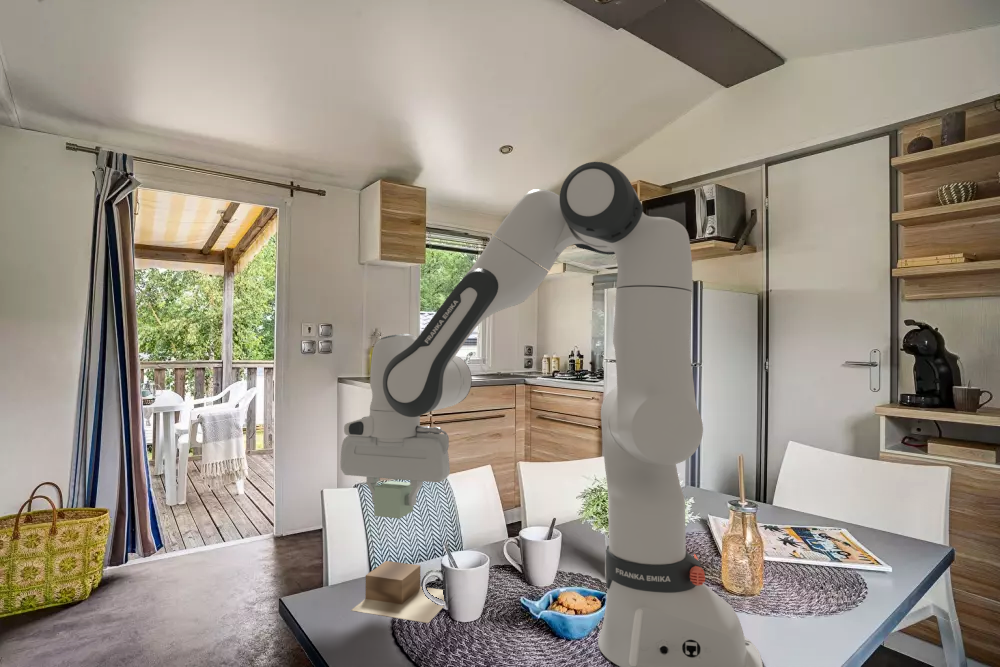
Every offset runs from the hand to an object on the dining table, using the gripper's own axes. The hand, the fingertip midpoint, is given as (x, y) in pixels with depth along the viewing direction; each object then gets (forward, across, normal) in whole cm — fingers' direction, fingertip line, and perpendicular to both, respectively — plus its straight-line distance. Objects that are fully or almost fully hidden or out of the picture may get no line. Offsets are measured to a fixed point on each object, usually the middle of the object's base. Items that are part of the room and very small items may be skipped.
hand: (394, 503), depth 98 cm
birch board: (+17, -4, +2) cm, 17 cm away
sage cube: (+2, 0, 0) cm, 2 cm away
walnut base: (+16, 0, 0) cm, 16 cm away
